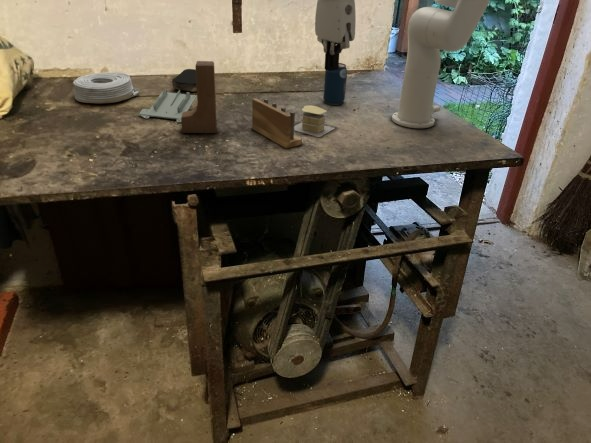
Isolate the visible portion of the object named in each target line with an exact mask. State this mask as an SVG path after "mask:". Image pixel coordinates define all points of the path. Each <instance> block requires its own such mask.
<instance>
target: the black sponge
mask: <svg viewBox="0 0 591 443" xmlns="http://www.w3.org/2000/svg"><path fill="white" fill-rule="evenodd" d="M171 84H172V88H173V89H175V90H178V91H179V90H180V91H185V92H190V93H196V92H197V84H196V68H186V69H184V70H182V71H181V72H180V73H179V74H178V75H177V76H175V77H174V78H172V79H171Z"/></svg>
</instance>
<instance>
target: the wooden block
mask: <svg viewBox="0 0 591 443" xmlns="http://www.w3.org/2000/svg"><path fill="white" fill-rule="evenodd" d="M194 69H195V70H196V84H197V91H196V99H197V100H196V101H197V105H196V106H195V107H194V108H193V109H192V110H188V111H186V112H183V113H182V117H181V122H180V123H181V133H182V134H216V133H217V131H218V130H217V128H218V124H217V122H218V121H217V101H216V100H217V99H216V97H217V96H216V75H215V74H216V73H215V72H216V71H215V62H214V61H213V60H197V61H196V62H195V68H194Z"/></svg>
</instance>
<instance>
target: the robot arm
mask: <svg viewBox="0 0 591 443" xmlns="http://www.w3.org/2000/svg"><path fill="white" fill-rule="evenodd" d="M433 1H434V2H435V3H436V4H437V5H440V6H443V7H447V8H452V9H453V11H452V10H448V9H443V8H439V7H435V6H425V7H421V8H420V7H419V8H418V9H416V10H415V11H414V12H413V13H412V14H411V16H410V17H409V21H408V24H407V52H406V53H407V54H406V60H405V67H404V73H403V79H402V85H401V91H400V96H399V103H398V111H396V112H394V113H393V114H392V116H391V120H392V122H393V123H395V124H396V125H399V126H402V127H405V128H411V129H428V128H431V127H433V126H434V125H435V122H436V121H435V120H436V119H435V118H434V116H433V114H435V113H438V112H440V111H441V106H440V105H439V104H438V105H437V104H436V105H434V100H435V99H434V98H435V95H436V94H435V93H436V89H437V84H438V79H439V76H440V75H439V74H440V69H441V65H442V63H441V62H442V57H441V51H445V52H450V53H455V52H459V51H461V49H463V48H464V47H465V46H466V45H467V43H468V42H469V41H470V39H471V37H472V36H473V33H474V32H475V31H476V28H477V26H478V25H479V23H480V21H481V19H482V17H483V15H484V14H485V11H486V9H487V7H488V5H489V3H490V1H491V0H433ZM356 19H357V18H356V0H317V2H316V8H315V19H314V33H315V36H316V41H317V42H319V43H320V44H321V45H322V47H323V53H325V54H324V70H328V71H333V70H338V68H339V63H340V54H342V51H343V50H347V49H350V46H351V45H350V42H353V41H354V40H355V38H356V37H355V36H356Z"/></svg>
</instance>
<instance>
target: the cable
mask: <svg viewBox="0 0 591 443" xmlns="http://www.w3.org/2000/svg"><path fill="white" fill-rule="evenodd" d="M72 84H73V89H74V91H73V92H74V93H73V94H74V99H75V100H76V101H77V102H80V103H84V104H85V103H86V104H111V103H118V102H122V101H126V100H129V99H131V98H133V97H138V96H139V94H140V88H135V87H134V86H133V83H132V79H131V76H130V75H129V74H127V73H125V72H118V71H116V72H115V71H110V72H109V71H108V72H107V71H106V72H96V73H90V74H84V75H82V76H79V77H77V78H76V79H74V81H73V82H72Z"/></svg>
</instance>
